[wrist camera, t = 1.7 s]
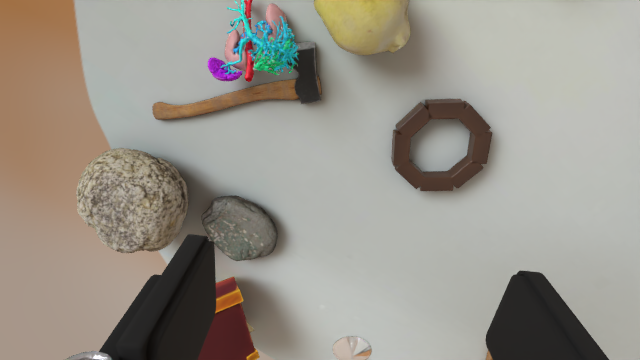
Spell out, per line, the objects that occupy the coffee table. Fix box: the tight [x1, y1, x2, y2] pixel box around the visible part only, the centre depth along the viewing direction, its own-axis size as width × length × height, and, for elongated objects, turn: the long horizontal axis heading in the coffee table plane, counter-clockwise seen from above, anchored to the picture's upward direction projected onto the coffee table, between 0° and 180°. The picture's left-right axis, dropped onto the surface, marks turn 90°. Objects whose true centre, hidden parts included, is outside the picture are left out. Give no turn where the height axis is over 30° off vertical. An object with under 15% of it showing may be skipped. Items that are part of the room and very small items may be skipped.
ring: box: [392, 99, 492, 191], centre depth 33 cm, size 8×8×1 cm
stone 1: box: [77, 148, 189, 253], centre depth 34 cm, size 6×10×10 cm
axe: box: [153, 42, 322, 120], centre depth 32 cm, size 16×1×5 cm
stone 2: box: [202, 196, 277, 261], centre depth 37 cm, size 7×8×2 cm
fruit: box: [314, 0, 411, 55], centre depth 26 cm, size 6×6×10 cm
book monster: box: [197, 277, 259, 360], centre depth 40 cm, size 11×9×12 cm
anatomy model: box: [208, 0, 300, 82], centre depth 27 cm, size 5×8×7 cm
